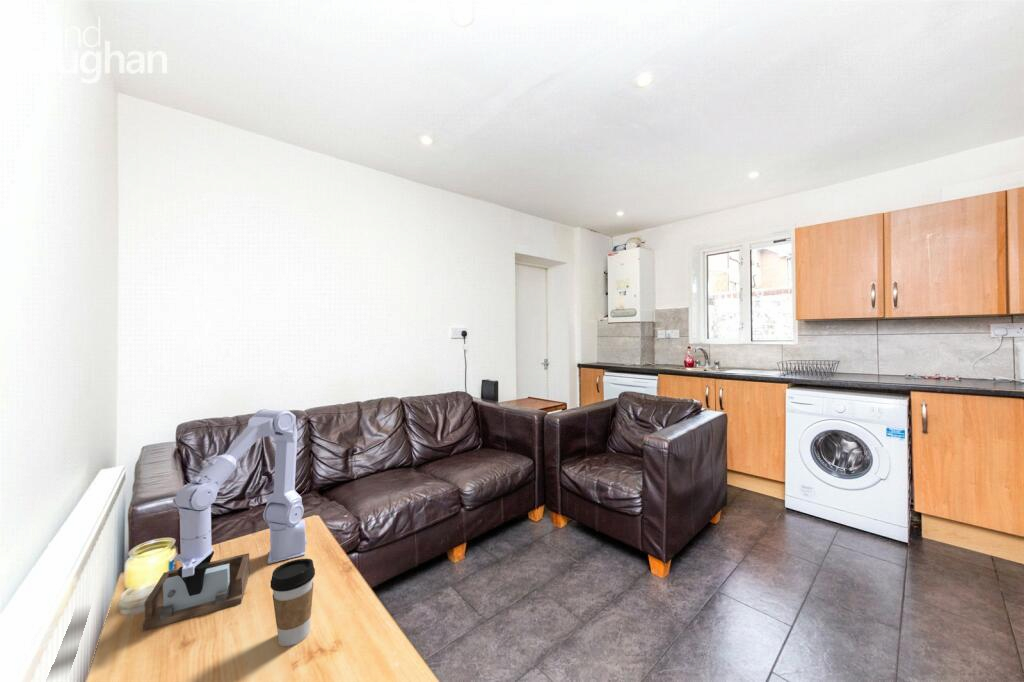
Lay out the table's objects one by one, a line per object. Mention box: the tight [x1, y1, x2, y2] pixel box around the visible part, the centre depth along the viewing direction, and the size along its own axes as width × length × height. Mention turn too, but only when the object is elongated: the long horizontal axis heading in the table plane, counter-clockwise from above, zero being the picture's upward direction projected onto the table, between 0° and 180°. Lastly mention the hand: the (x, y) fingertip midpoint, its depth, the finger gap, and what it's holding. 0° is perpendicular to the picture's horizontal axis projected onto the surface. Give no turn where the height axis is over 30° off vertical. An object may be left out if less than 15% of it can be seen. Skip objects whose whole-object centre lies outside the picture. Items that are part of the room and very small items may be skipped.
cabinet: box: [142, 552, 251, 632], centre depth 95 cm, size 18×14×6 cm
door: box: [163, 564, 230, 611], centre depth 91 cm, size 12×3×7 cm, turn 118°
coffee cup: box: [270, 558, 316, 647], centre depth 82 cm, size 8×8×15 cm
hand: (197, 590), depth 91 cm, fingers closed on door, 2 cm apart
